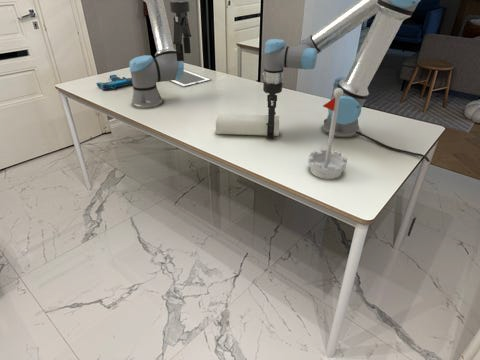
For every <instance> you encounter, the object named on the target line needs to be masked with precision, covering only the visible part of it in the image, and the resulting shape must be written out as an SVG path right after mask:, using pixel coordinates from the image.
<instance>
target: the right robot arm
mask: <svg viewBox="0 0 480 360" xmlns="http://www.w3.org/2000/svg"><path fill="white" fill-rule="evenodd" d="M420 2H421V0H357V1H355V2H354V3H353V4H351V5H350V6H348V7H347V8H345V10H343V11H342V12H340V13H339V14H337V15H336V16H335V17H333V18H332V19H330V20H329V21H328V22H327V23H325V24H324V25H322V26H321V27H319V28H318V29H317V30H316V31H314V32H313V33H312V34H310V35H309V36H307V37H306V38H305V39H302V40H301V41H299V42H298V44H297V45H296V46H287V45H286V41H285V40H284V39H281V38H280V39H279V38H269V39H267V40H266V42H265V44H264V53H263V54H264V55H263V57H264V58H263V60H264V61H263V72H262V74H261V75H262V76H263V81H264V82H263V88H262V91H263V92H264V93H266V95H267V96H266V98H267V99H266V101H267V108H268V109H267V115H268V123H266V125H268V128H267V136H266V139H267V140H274V137H275V136H274V124H275V123H274V118H275V116H277V115H276V114H277V112H276V108H277V101H278V94H281V93H282V91H283V81H284V68H287V69H297V70H298V69H299V70H314V69H315V68H316V65H317V59H318V54H320V53H321V52H323V51H324V50H325V49H327V48H328V47H330V46H331V45H332V44H334V43H336V42H337V41H339V40H340V39H341V38H343V37H345V36H346V35H347V34H350V33H351V32H352V31H353V30H355V29H356V28H357V27H359V26H361V25H362V24H363V23H366V21H368V20H370V19H371V18H372V17H374V16H375V17H374V18H373V20H372V23H371V24H370V27H369V28H368V31H367V33H366V35H365V37H364V40H363V42H362V44H361V46H360V48H359V50H358V51H357V54H356V56H355V58H354V60H353V62H352V63H351V67H350V69H349V71H348V73H347V75H346V76H339V77H336V78H335V79H334V82H333V84H332V85H333V86H332V87H333V88H332V93H331V98H330V100H329V101H331V100H332V99H334V98H335V96H334V90H335V89H336V88H341V89H342V90H343V95H342V96H341V97H340V101H339V107H338V113H337V120H336V126H335V132H334V137H335V138H339V139H341V138H342V139H349V138H354V137H356V136H357V135H358V136H361V137H364V138H366V139H367V140H370V141H371V142H374V143H375V144H378V145H380V146H382V147H384V148H387V149H389V150H392V151H395V152H400V153H405V154H408V155H412V156H417V157H421V158H423V159H425V161H426V162H428V163H430V158H429V157H428V156H426V155H425V154H422V153H418V152H413V151H409V150H405V149H400V148H396V147H392V146H390V145H387V144H385V143H383V142H381V141H379V140H377V139H375V138H373V137H370V136H368V135H367V134H365V133H361V132H360V125H359V117H360V115H361V113H362V108H363V106H364V104H365V102H366V100H367V98H368V96H369V95H370V92H369V89H368V88H369V86H370V84H371V82H372V80H373V79H374V76H375V74H376V72H377V71H378V69H379V67H380V65H381V63H382V62H383V60H384V57H385V55H386V54H387V52H388V50H389V49H390V46H391V44H392V42H393V40H394V39H395V37H396V35H397V33H398V31H399V30H400V27H401V25H402V24H403V22H404V21H405V20H407V19H409V18H411V17H412V16H413V13H414V12H415V10H416V8H417V7H418V4H419V3H420ZM327 111H328V115H327V117H326V118H324V119H323V126H322V130H323V132H324V133H325V134H326V135H329V134H330V127H331V121H332V114H333V111H332V110H330V109H328V108H327ZM416 220H417V217H414V218H412V220H411V224H410V226H409V229H408V232H407V237H410V236H411V232H412V230H413V227H414V225H415V222H416Z"/></svg>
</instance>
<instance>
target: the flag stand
mask: <svg viewBox="0 0 480 360" xmlns="http://www.w3.org/2000/svg"><path fill="white" fill-rule="evenodd" d="M342 95H343V90H342V89H341V88H336V89H335V90H334V96H335V98H334V99H332V100H331V99H330V100H331V101H330V100H329V101H327V102H326V103H325V104H323V105H322V107H324V108H325V109H327V110H328V109H330V110H332V111H333V114H332V121H331V127H330V134H328V141H327V147H326V148H321V149H320V151H317V150H315V149H314V150H312V151H311V152H310V155H308V162H307V163H308V165H309V166H310V167H309V169H310V173H311V174H313V176H315V177H318V178H321V179H325V180H332V179H337V178H339V177H341V176H342V174H343V171H344V170H345V169H346V168H347V164H348V158H347V156H346V155H342V152H340V151H338V150H334V151H332V149H333V143H334V132H335V126H336V120H337V113H338V107H339V101H340V97H341V96H342Z"/></svg>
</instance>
